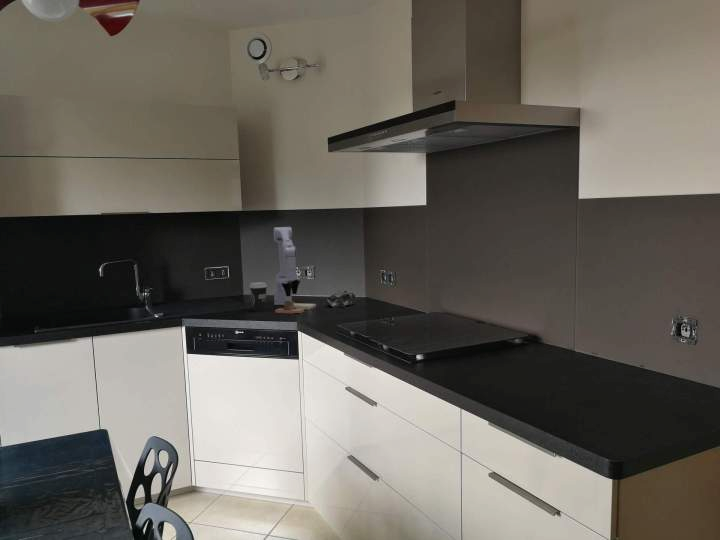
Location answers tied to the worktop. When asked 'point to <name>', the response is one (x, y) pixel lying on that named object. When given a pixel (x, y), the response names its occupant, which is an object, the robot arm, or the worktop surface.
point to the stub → (289, 308)
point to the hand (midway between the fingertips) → (291, 295)
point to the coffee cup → (258, 296)
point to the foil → (340, 299)
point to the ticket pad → (303, 306)
